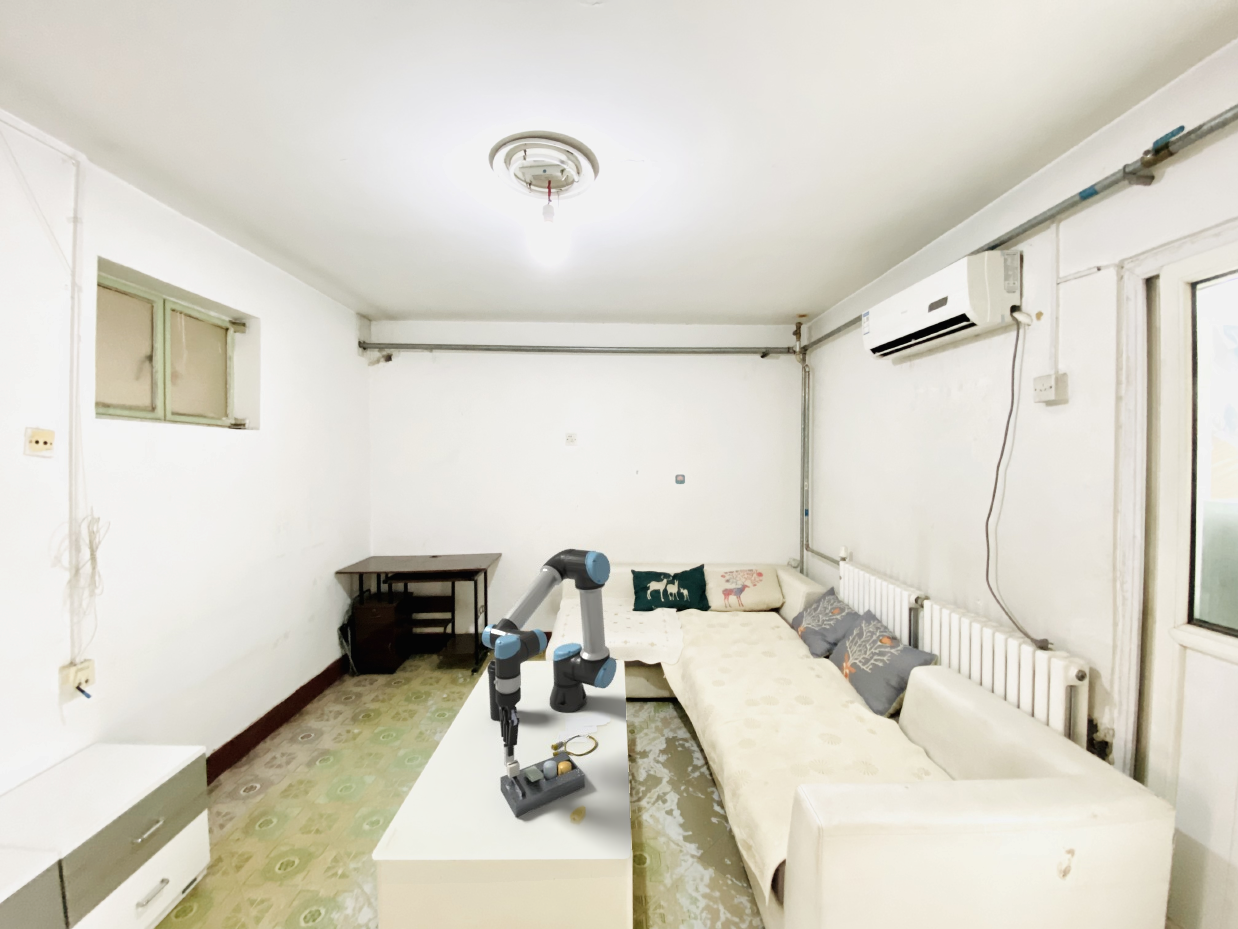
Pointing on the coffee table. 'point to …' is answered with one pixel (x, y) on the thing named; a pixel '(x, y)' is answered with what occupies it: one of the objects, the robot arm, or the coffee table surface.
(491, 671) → the water bottle
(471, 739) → the coffee table surface
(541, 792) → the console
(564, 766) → the amber button
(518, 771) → the fader knob
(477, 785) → the coffee table surface
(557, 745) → the extension cord
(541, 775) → the panel
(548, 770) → the blue-grey button
